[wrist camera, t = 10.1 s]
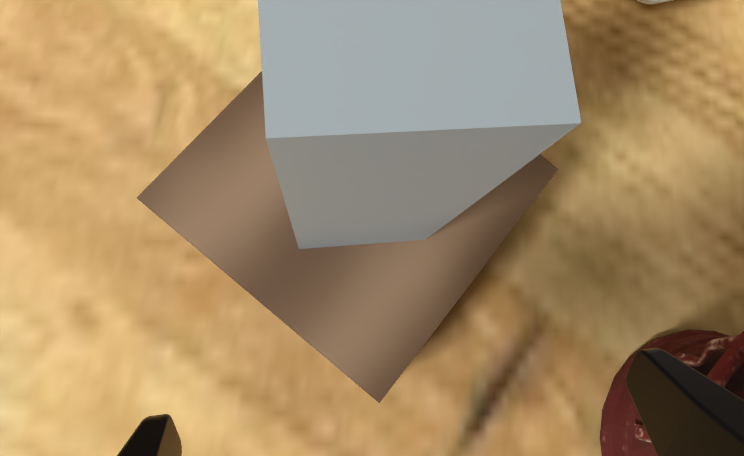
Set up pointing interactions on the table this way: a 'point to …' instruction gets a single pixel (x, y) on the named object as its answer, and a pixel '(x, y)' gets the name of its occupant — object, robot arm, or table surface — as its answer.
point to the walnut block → (328, 249)
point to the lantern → (693, 347)
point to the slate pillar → (407, 108)
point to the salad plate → (652, 1)
